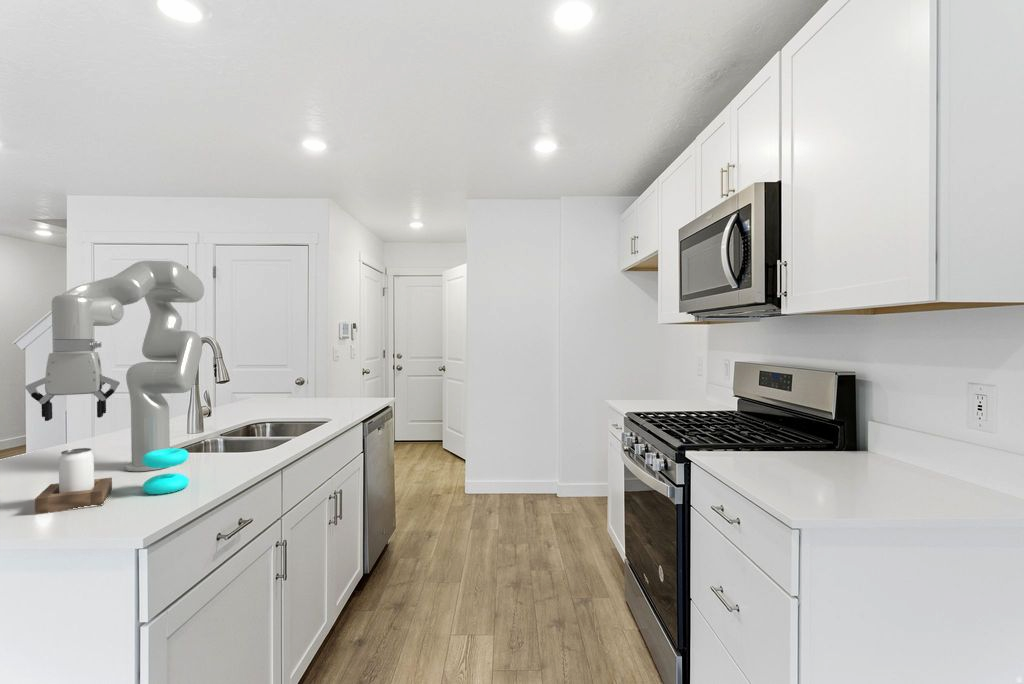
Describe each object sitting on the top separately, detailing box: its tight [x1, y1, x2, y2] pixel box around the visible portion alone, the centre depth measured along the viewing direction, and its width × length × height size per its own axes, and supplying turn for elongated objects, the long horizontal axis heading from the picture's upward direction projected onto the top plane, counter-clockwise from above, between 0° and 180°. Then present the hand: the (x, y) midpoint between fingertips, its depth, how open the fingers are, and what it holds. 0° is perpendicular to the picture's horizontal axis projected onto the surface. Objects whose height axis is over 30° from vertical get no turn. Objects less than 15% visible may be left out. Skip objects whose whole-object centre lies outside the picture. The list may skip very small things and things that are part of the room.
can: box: [58, 447, 95, 493], centre depth 125 cm, size 6×6×12 cm
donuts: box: [142, 447, 190, 495], centre depth 134 cm, size 10×10×10 cm
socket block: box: [34, 477, 113, 515], centre depth 124 cm, size 12×13×4 cm
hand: (74, 418), depth 124 cm, fingers open, 9 cm apart
